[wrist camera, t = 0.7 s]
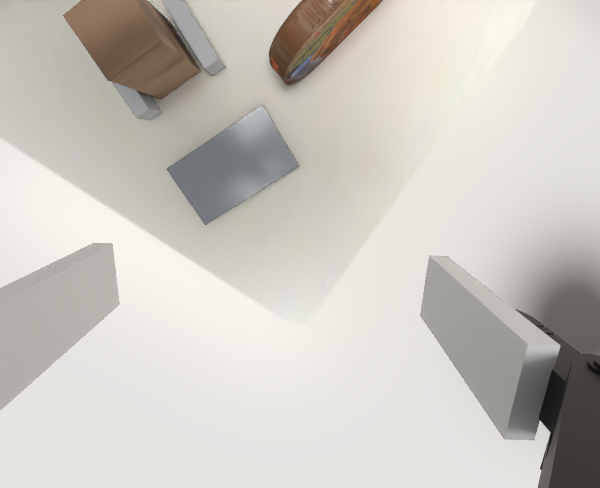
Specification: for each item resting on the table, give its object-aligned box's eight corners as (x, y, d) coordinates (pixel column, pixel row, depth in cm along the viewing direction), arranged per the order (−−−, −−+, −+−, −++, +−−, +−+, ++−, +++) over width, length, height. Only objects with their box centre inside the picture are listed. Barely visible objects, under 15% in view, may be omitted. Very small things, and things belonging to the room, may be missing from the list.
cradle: (106, 56, 35) (88, 48, 32) (183, -2, 33) (171, -16, 30) (149, 120, 36) (136, 117, 33) (225, 67, 35) (217, 59, 32)
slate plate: (169, 168, 38) (166, 169, 37) (263, 105, 36) (262, 104, 35) (207, 223, 39) (205, 224, 38) (299, 165, 37) (299, 166, 36)
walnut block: (130, 53, 35) (62, 15, 25) (170, 22, 34) (117, -28, 24) (161, 99, 36) (107, 80, 26) (201, 70, 35) (161, 40, 25)
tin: (290, 94, 35) (285, 77, 27) (268, 69, 35) (256, 44, 27) (408, -25, 33) (441, -83, 24) (386, -54, 32) (413, -123, 24)
